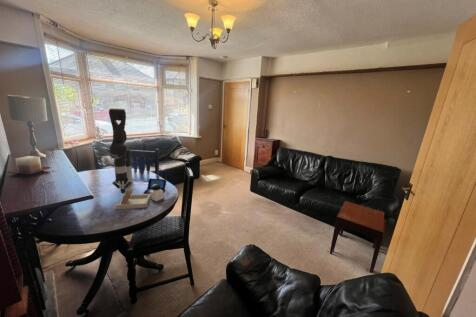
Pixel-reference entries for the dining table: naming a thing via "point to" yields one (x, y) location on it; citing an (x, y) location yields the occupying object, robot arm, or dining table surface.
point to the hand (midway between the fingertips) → (123, 193)
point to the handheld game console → (153, 182)
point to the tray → (135, 201)
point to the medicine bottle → (156, 193)
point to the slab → (126, 196)
